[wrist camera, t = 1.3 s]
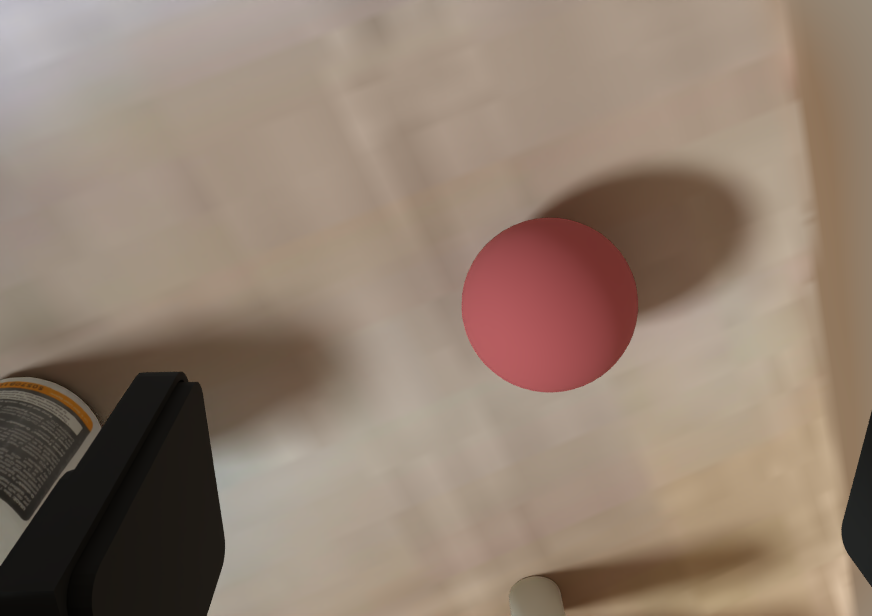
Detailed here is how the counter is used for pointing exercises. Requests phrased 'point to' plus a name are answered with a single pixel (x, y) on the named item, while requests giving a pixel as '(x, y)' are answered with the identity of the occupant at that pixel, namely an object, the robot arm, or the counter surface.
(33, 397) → the pill bottle
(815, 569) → the counter surface
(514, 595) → the pin
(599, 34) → the counter surface
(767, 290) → the counter surface
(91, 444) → the robot arm
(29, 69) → the counter surface
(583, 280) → the ball
